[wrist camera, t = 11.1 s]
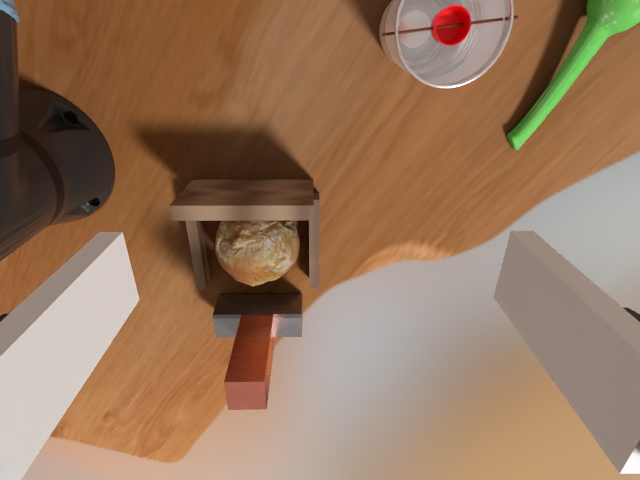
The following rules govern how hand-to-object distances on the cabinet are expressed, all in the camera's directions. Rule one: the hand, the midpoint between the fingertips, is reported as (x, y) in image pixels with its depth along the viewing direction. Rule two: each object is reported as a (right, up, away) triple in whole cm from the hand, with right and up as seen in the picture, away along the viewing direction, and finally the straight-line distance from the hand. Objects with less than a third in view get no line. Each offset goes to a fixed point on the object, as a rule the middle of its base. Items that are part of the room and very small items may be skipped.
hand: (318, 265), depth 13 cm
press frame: (-8, +1, +35) cm, 36 cm away
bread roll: (-8, +1, +36) cm, 37 cm away
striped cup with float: (+9, +22, +25) cm, 34 cm away
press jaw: (-8, -8, +40) cm, 41 cm away
